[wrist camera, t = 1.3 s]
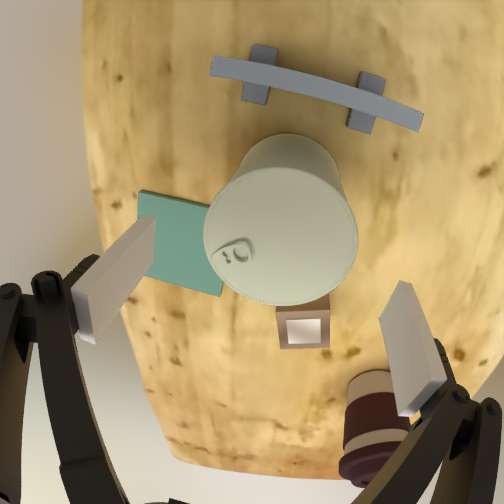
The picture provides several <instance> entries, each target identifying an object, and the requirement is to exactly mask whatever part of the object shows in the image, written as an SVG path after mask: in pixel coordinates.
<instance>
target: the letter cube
mask: <svg viewBox="0 0 504 504" xmlns="http://www.w3.org/2000/svg"><path fill="white" fill-rule="evenodd" d="M276 318H277V325H278V333H279V341H280V349H304V348H330V303H329V293H327V294H326V295H324V296H322V297H320V298H318V299H316V300H314V301H311V302H308V303H304V304H300V305H293V306H277V307H276Z"/></svg>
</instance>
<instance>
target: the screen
mask: <svg viewBox="0 0 504 504" xmlns="http://www.w3.org/2000/svg"><path fill="white" fill-rule="evenodd" d="M277 54H278V49H277V48H272V47H267V46H261V45H256V44H253V47H252V51H251V55H250V60H249V61H246V60H240V59H233V58H227V57H220V56H213V59H212V64H211V69H210V74H209V76H215V77H221V78H228V79H233V80H239V81H245V83H244V87H243V92H242V97H241V100H242V101H247V102H252V103H256V104H261V105H266V102H267V98H268V93H269V89H270V87H274V88H279V89H283V90H287V91H292V92H296V93H300V94H304V95H307V96H311V97H315V98H319V99H322V100H326V101H329V102H333V103H336V104H339V105H343V106H346V107H349V108H351V111H350V115H349V118H348V122H347V125H346V126H347V127H348V128H352V129H355V130H358V131H361V132H364V133H367V134H370V135H371V131H372V128H373V125H374V121H375V118H376V117H379V118H382V119H385V120H387V121H390V122H393V123H395V124H398V125H401V126H403V127H406V128H408V129H411V130H413V131H416V132H419V129H420V126H421V123H422V119H423V116H424V113H422V112H420V111H417V110H415V109H413V108H410V107H408V106H405V105H403V104H400V103H398V102H395V101H392V100H390V99H387V98H384V97H382V93H383V89H384V85H385V81H386V80H385V79H383V78H380V77H377V76H374V75H371V74H369V73H366V72H361V73H360V77H359V81H358V85H357V88H355V87H352V86H349V85H346V84H343V83H339V82H336V81H332V80H329V79H325V78H322V77H318V76H314V75H311V74H307V73H303V72H299V71H294V70H290V69H286V68H281V67H277V66H275V63H276V59H277Z"/></svg>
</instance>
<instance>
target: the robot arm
mask: <svg viewBox="0 0 504 504" xmlns="http://www.w3.org/2000/svg"><path fill="white" fill-rule="evenodd" d="M155 228H156V218H153V217H149V216H145V215H142V216H141V217H140V218H139V219H138V220H137V221H136V222H135V223H134V224H133V225H132V226H131V227H130V228H129V229H128V230H127V231H126V232H125V233H124V234H123V235H122V236H121V237H120V238H119V239H118V240H116V241H115V242H114V243H113V244H112V245H111V246H110V247H109V248H108V249H107V250H106V251H105V253H104V254H103V255H102V256H98V255H95V254H92V255H90V256H88V257H86V258H84V259H83V260H82V261H81V262H80V263H79V264H78V266H76V267H75V268H74V269H73V271H71V272H70V273H69V274H68V275H67V276H66V277H65V278H64V279H63V280H62V277H61V275H60V274H59V273H57V272H55V271H43V272H40V273H38V274H37V275H35V276H34V277H33V278H32V282H31V286H32V290H33V294H34V295H28V294H22V291H21V288H20V286H19V285H17V284H15V283H6V284H4V285H1V286H0V504H20V500H21V446H22V428H23V415H24V404H25V395H26V386H27V380H28V373H29V366H30V361H31V355H32V349H33V344H34V342H35V343H38V349H39V358H40V365H41V372H42V379H43V386H44V391H45V398H46V403H47V408H48V413H49V418H50V422H51V427H52V431H53V435H54V439H55V443H56V447H57V451H58V454H59V458H60V463H61V464H60V467H59V469H60V474H61V478H62V481H63V484H64V487H65V490H66V493H67V496H68V499H69V501H70V504H130V503H129V501H128V499H127V497H126V494H125V492H124V490H123V488H122V486H121V484H120V482H119V479H118V477H117V475H116V472H115V470H114V468H113V466H112V463H111V460H110V457H109V455H108V452H107V450H106V447H105V445H104V442H103V439H102V436H101V433H100V430H99V427H98V424H97V421H96V418H95V415H94V412H93V408H92V405H91V402H90V398H89V395H88V391H87V388H86V384H85V380H84V376H83V373H82V368H81V365H80V360H79V356H78V351H77V347H76V342H75V338H74V335H75V333H76V332H77V331H78V329H79V333H80V337H81V339H83V340H86V341H88V342H91V343H93V344H95V345H96V344H97V342H98V340H99V339H100V337H101V336H102V335H103V333H104V332H105V330H106V329H107V327H108V325H109V324H110V323H111V321H112V320H113V318H114V317H115V315H116V314H117V313H118V311H119V310H120V308H121V307H122V305H123V304H124V303H125V301H126V300H127V298H128V297H129V296H130V294H131V293H132V291H133V290H134V289H135V287H136V286H137V284H138V283H139V282H140V280H141V279H142V278H143V276H144V275H145V273H146V272H147V271H148V269H149V268H150V267H151V265H152V264H153V263H154V245H155ZM379 321H380V325H381V330H382V334H383V339H384V343H385V348H386V352H387V357H388V362H389V367H390V372H391V377H392V383H393V388H394V394H395V400H396V406H397V412H398V416H406V417H412V416H413V415H414V414H415V413H416V412H417V411H418V410H419V409H420V413H421V417H420V418H419V419H418V420H417V421H416V422H415V423H413V424H412V425H411V426H410V427H409V428H408V430H410V429H411V430H410V431H409V432H408V434H407V435H406V437H405V438H404V440H403V441H402V442H401V444H400V445H399V446H398V448H397V449H396V450H395V452H394V453H393V454H392V456H391V457H390V458H389V460H388V461H387V462H386V463H385V465H384V466H383V467H382V469H381V470H380V471H379V472H378V473H377V475H376V476H375V477H374V478H373V479H372V481H371V482H370V483H369V484H368V485H367V486H366V488H365V489H364V490H363V491H362V492H361V493H360V494H359V496H358V497H357V498H356V499H355V500H354V501H353V502H352V503H351V504H416V503H417V502H418V500H419V499H420V497H421V496H422V494H423V493H424V491H425V489H426V488H427V486H428V485H429V483H430V481H431V480H432V478H433V476H434V474H435V473H436V471H437V469H438V467H439V466H440V464H441V462H442V460H443V462H442V466H441V469H440V473H439V476H438V480H437V483H436V486H435V490H434V493H433V496H432V499H431V502H430V504H492V503H493V497H494V491H495V485H496V479H497V472H498V464H499V455H500V444H501V429H502V409H501V407H500V405H499V403H498V402H497V401H496V400H494V399H493V398H490V397H488V398H486V399H484V400H483V401H482V402H481V403H478V402H476V401H473V400H471V399H470V395H469V393H468V392H467V390H466V389H465V388H464V387H463V386H461V385H459V384H456V380H455V377H454V375H453V372H452V369H451V366H450V363H449V360H448V357H446V352H445V349H444V347H443V345H442V344H441V343H440V341H439V340H438V339H435V338H433V336H432V333H431V331H430V328H429V325H428V323H427V320H426V318H425V315H424V313H423V310H422V308H421V305H420V303H419V300H418V298H417V296H416V293H415V291H414V289H413V286H412V284H411V283H408V282H404V281H400V280H399V282H398V284H397V286H396V288H395V290H394V292H393V294H392V296H391V298H390V300H389V301H388V303H387V305H386V307H385V309H384V311H383V312H382V314H381V316H380V318H379ZM146 504H188V503H185V502H182V501H178V500H174V499H171V498H169V502H168V503H165V502H156V503H155V502H154V503H146Z"/></svg>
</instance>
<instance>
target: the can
mask: <svg viewBox="0 0 504 504" xmlns="http://www.w3.org/2000/svg"><path fill="white" fill-rule="evenodd" d="M203 241H204V247H205V251H206V254H207V257H208V260H209V262H210V264H211V266H212V267H213V269H214V270H215V272H216V273H217V275H218V276H219V277H220V278H221V279H222V280H223V281H224V282H225V283H226V284H227V285H228V286H229V287H230V288H231V289H233V290H234V291H236V292H237V293H239V294H240V295H242V296H244V297H246V298H248V299H251V300H253V301H256V302H259V303H263V304H268V305H275V306H293V305H300V304H304V303H308V302H311V301H314V300H316V299H318V298H320V297H322V296H324V295H326V294H327V293H329V292H330V291H332V290H333V289H334V288H335V287H337V286H338V285H339V284H340V283H341V282H342V281H343V279H344V278H345V277H346V275H347V274H348V273H349V271H350V269H351V267H352V265H353V263H354V260H355V257H356V253H357V248H358V229H357V224H356V220H355V217H354V214H353V212H352V210H351V208H350V206H349V204H348V202H347V199H346V197H345V194H344V191H343V188H342V186H341V183H340V176H339V171H338V168H337V165H336V163H335V161H334V159H333V158H332V156H331V155H330V154H329V152H328V151H327V150H326V149H325V148H324V147H323V146H321V145H320V144H319V143H317V142H316V141H314V140H312V139H310V138H308V137H305V136H302V135H298V134H277V135H273V136H270V137H267V138H265V139H263V140H261V141H260V142H258V143H257V144H255V145H254V146H253V147H252V148H251V149H250V150H249V151H248V152H247V153H246V155H245V156H244V158H243V160H242V162H241V164H240V167H239V168H238V169H237V171H236V172H235V174H234V175H233V176H232V178H231V179H230V180H229V182H228V183H227V184H226V185H225V186H224V187H223V188H222V189H221V190H220V191H219V192H218V194H217V195H216V196H215V198H214V199H213V201H212V202H211V204H210V206H209V209H208V211H207V213H206V217H205V221H204V227H203Z"/></svg>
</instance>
